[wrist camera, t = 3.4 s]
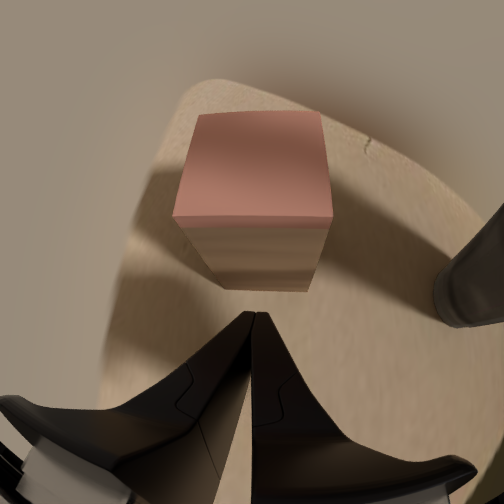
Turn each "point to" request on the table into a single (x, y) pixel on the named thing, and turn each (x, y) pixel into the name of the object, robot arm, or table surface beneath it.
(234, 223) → the wooden block
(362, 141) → the table surface
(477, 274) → the beverage cup
